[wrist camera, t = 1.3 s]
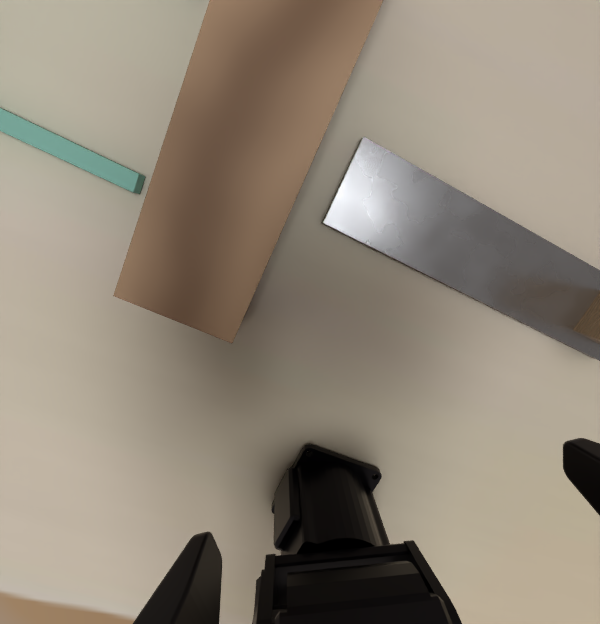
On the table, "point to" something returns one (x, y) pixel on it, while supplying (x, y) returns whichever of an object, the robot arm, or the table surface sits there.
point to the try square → (467, 246)
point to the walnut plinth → (239, 153)
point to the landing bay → (70, 151)
